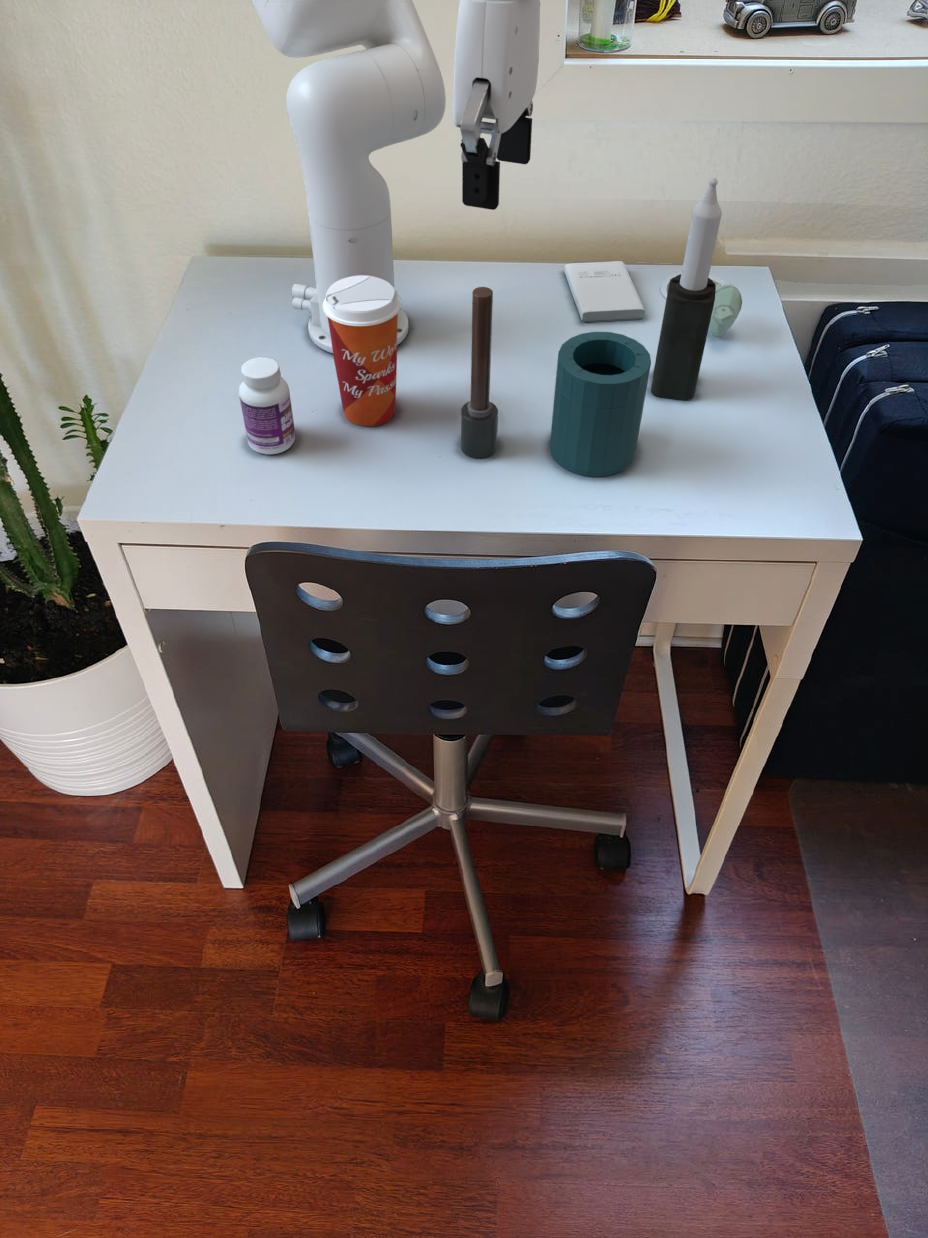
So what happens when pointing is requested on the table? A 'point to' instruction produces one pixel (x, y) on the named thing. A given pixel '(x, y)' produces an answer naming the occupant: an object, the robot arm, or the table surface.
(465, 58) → the robot arm
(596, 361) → the teal hollow cylinder
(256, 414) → the pill bottle
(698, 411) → the table surface
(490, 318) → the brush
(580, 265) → the hard drive
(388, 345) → the coffee cup
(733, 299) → the green toy fish
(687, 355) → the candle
